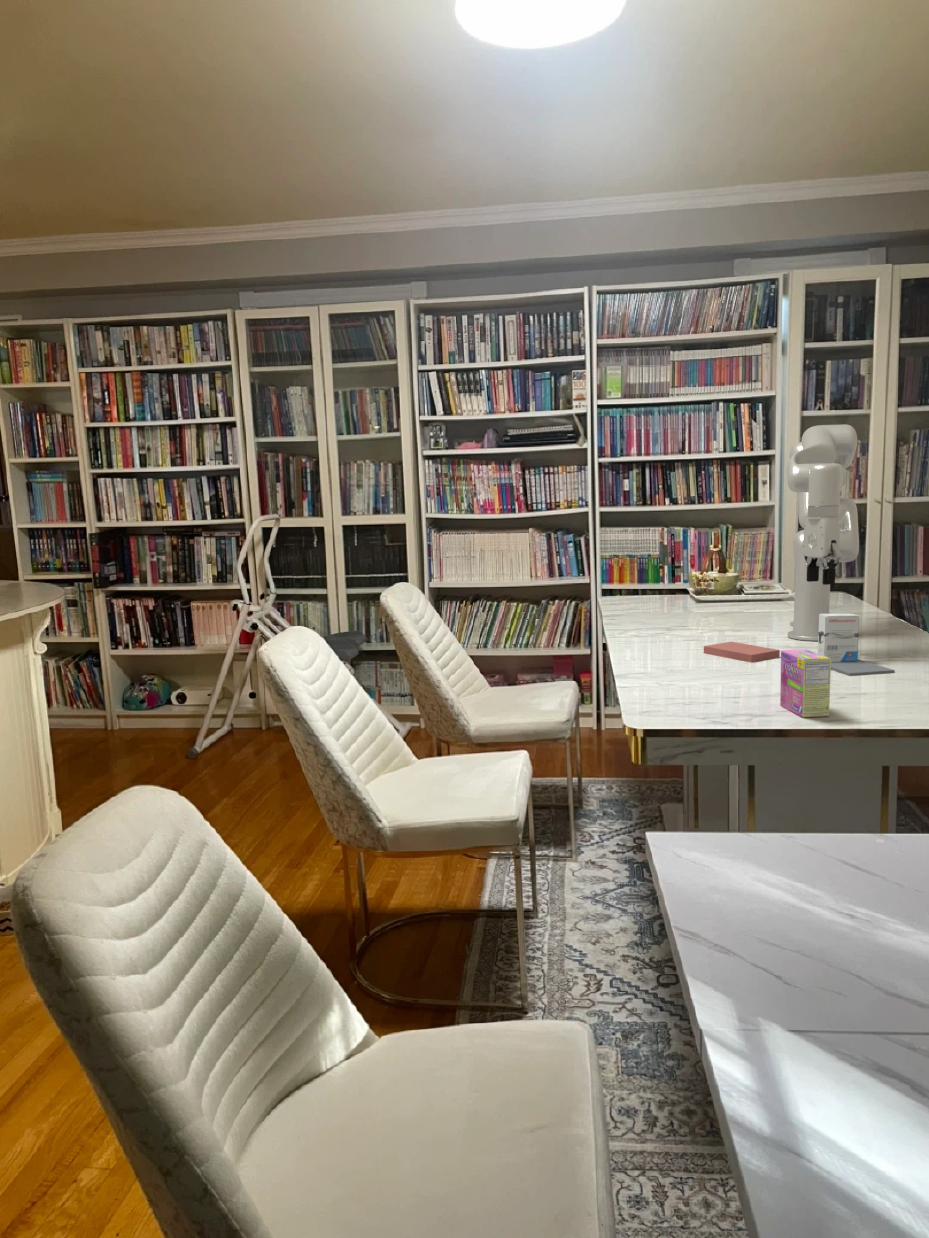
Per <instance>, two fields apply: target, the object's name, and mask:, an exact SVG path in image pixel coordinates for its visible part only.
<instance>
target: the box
mask: <svg viewBox="0 0 929 1238" xmlns="http://www.w3.org/2000/svg"><path fill="white" fill-rule="evenodd" d="M831 672H832V670H831V658H828V657H825V656H823V655H820V654H818V652H814V651H811V650H809V649H807V648H799V649H782V650H780V692H779V693H780V694H779V695H780V699H779V702H780V703H779V704H780V706H781V707H782V708H784V709H787V711H790V712H792V713H794V714H796V715H798V716H800V717H801V718H818V717H819V718H821V717H822V718H823V717H830V701H831V700H830V698H831Z"/></svg>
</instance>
